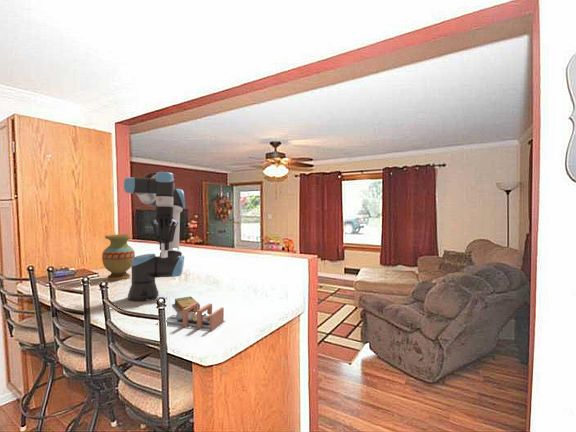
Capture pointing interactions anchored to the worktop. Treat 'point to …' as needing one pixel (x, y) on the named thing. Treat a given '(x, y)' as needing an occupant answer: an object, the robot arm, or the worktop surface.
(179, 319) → the tube
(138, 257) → the robot arm
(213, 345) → the worktop surface
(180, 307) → the carton
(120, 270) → the vase
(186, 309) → the collar deck
